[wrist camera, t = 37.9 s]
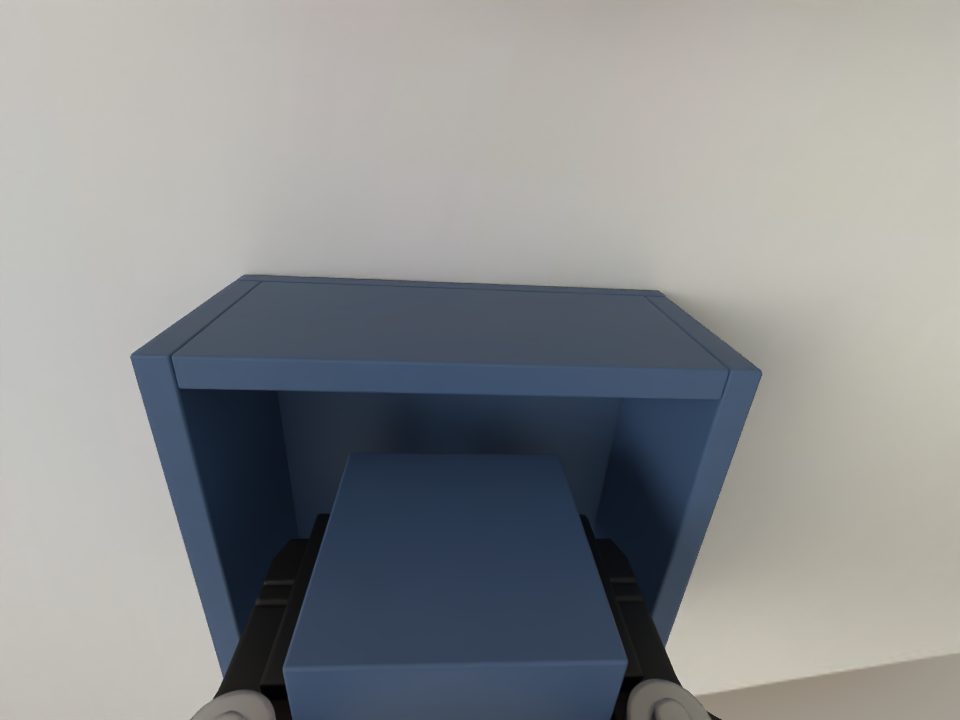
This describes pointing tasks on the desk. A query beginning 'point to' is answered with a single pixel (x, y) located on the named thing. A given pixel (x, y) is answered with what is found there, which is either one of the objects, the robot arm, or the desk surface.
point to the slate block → (454, 597)
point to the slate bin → (437, 413)
